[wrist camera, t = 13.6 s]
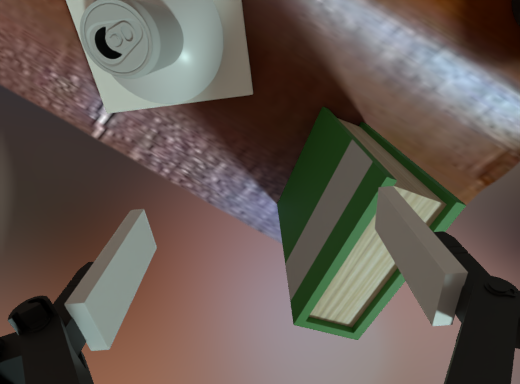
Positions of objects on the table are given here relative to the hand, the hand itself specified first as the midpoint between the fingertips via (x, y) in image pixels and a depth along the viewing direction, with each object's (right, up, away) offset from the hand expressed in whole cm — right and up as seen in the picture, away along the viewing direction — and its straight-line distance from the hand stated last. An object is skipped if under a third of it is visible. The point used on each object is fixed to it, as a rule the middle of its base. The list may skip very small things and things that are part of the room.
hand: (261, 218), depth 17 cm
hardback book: (+9, +6, +31) cm, 33 cm away
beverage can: (-12, +20, +18) cm, 29 cm away
